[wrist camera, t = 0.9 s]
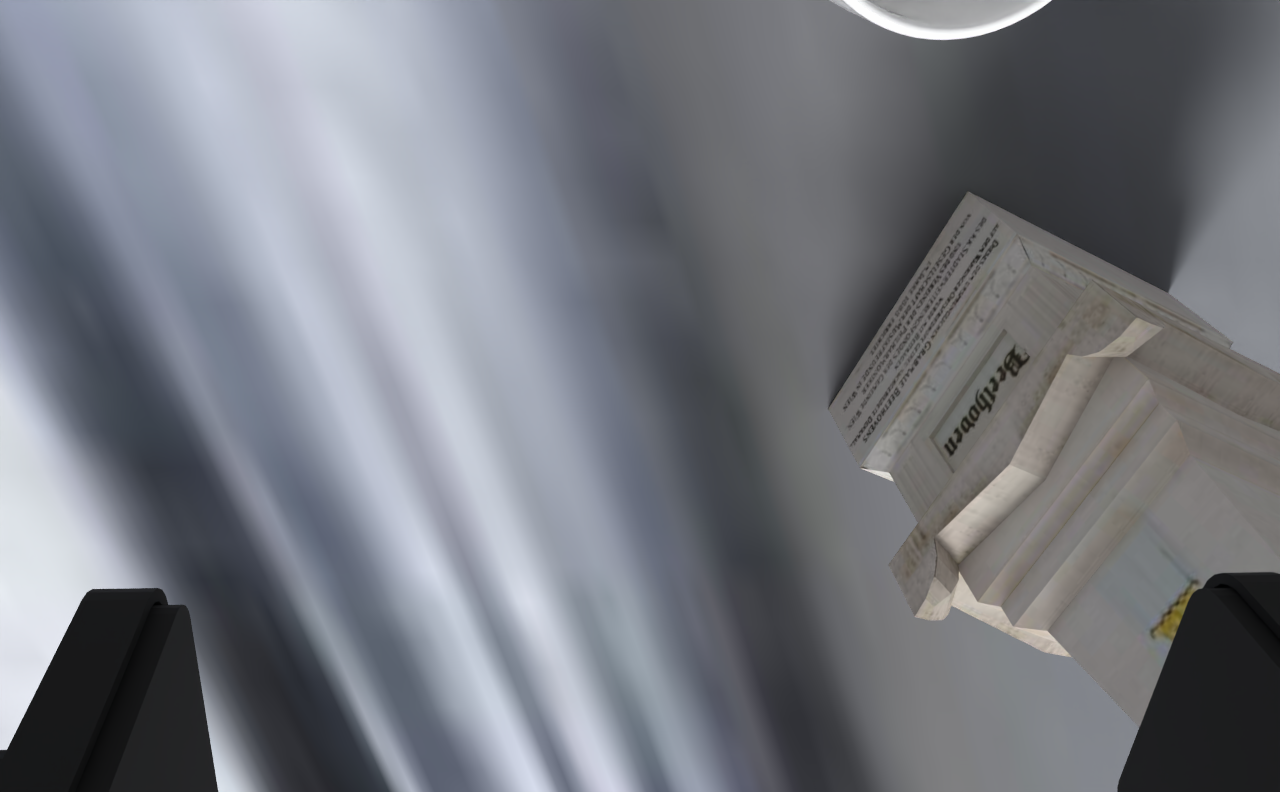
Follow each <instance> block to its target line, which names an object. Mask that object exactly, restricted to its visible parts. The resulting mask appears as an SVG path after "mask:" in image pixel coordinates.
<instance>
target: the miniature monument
mask: <svg viewBox="0 0 1280 792" xmlns="http://www.w3.org/2000/svg"><path fill="white" fill-rule="evenodd" d="M1232 343H1233V342H1232V341H1231V340H1230V339H1228V338H1227V337H1226V336H1224V335H1223V334H1222V333H1220V332H1219V331H1218V330H1216V329H1215V328H1214V327H1212V326H1211V325H1210V324H1208V323H1207V322H1206V321H1204V320H1203V319H1202V318H1200V317H1199V316H1198V315H1197V314H1195V313H1194V312H1193V311H1191V310H1190V309H1189V308H1187V307H1186V306H1185V305H1183V304H1182V303H1181V302H1179V301H1178V300H1177V299H1175V298H1174V297H1173V296H1171V295H1170V294H1169V293H1167V292H1165V291H1163V290H1161V289H1159V288H1157V287H1155V286H1153V285H1151V284H1149V283H1147V282H1145V281H1143V280H1141V279H1139V278H1138V277H1136V276H1134V275H1132V274H1130V273H1128V272H1126V271H1124V270H1122V269H1120V268H1118V267H1116V266H1114V265H1112V264H1110V263H1108V262H1106V261H1104V260H1102V259H1100V258H1098V257H1096V256H1094V255H1092V254H1090V253H1088V252H1086V251H1084V250H1083V249H1081V248H1079V247H1077V246H1075V245H1073V244H1071V243H1069V242H1067V241H1065V240H1063V239H1061V238H1059V237H1057V236H1055V235H1053V234H1051V233H1049V232H1047V231H1045V230H1043V229H1041V228H1039V227H1037V226H1035V225H1033V224H1031V223H1029V222H1027V221H1026V220H1024V219H1022V218H1020V217H1018V216H1016V215H1014V214H1012V213H1010V212H1008V211H1006V210H1004V209H1002V208H1000V207H998V206H996V205H994V204H992V203H990V202H988V201H986V200H984V199H982V198H980V197H978V196H976V195H974V194H972V193H971V192H969V191H967V193H966V194H965V196H964V198H963V199H962V201H961V202H960V204H959V205H958V207H957V209H956V210H955V212H954V213H953V215H952V216H951V218H950V219H949V221H948V223H947V224H946V226H945V227H944V229H943V230H942V232H941V234H940V235H939V237H938V238H937V240H936V241H935V243H934V244H933V246H932V248H931V249H930V251H929V252H928V254H927V255H926V257H925V259H924V260H923V262H922V263H921V265H920V266H919V268H918V269H917V271H916V273H915V274H914V276H913V277H912V279H911V280H910V282H909V283H908V285H907V287H906V288H905V290H904V291H903V293H902V294H901V296H900V298H899V299H898V301H897V302H896V304H895V305H894V307H893V308H892V310H891V312H890V313H889V315H888V316H887V318H886V319H885V321H884V323H883V324H882V326H881V327H880V329H879V330H878V332H877V333H876V335H875V337H874V338H873V340H872V341H871V343H870V344H869V346H868V348H867V349H866V351H865V352H864V354H863V355H862V357H861V358H860V360H859V362H858V363H857V365H856V366H855V368H854V369H853V371H852V373H851V374H850V376H849V377H848V379H847V380H846V382H845V383H844V385H843V387H842V388H841V390H840V391H839V393H838V394H837V396H836V398H835V399H834V401H833V402H832V404H831V405H830V407H829V408H828V409H829V411H830V413H831V415H832V417H833V419H834V421H835V422H836V424H837V426H838V428H839V430H840V432H841V434H842V436H843V437H844V439H845V441H846V443H847V445H848V447H849V449H850V450H851V452H852V454H853V456H854V458H855V460H856V462H857V464H858V465H859V467H860V468H861V469H864V470H866V471H869V472H871V473H874V474H876V475H879V476H881V477H884V478H886V479H889V480H891V481H894V482H895V484H896V485H897V487H898V489H899V491H900V492H901V494H902V496H903V498H904V499H905V501H906V503H907V505H908V506H909V508H910V510H911V512H912V513H913V515H914V517H915V518H916V520H917V522H918V524H917V525H916V527H915V528H914V530H913V531H912V532H911V534H910V535H909V537H908V538H907V539H906V541H905V542H904V544H903V545H902V546H901V548H900V549H899V551H898V552H897V553H896V555H895V556H894V558H893V559H892V560H891V562H890V563H889V567H890V569H891V571H892V573H893V575H894V577H895V579H896V581H897V583H898V585H899V587H900V589H901V591H902V592H903V594H904V596H905V598H906V600H907V602H908V604H909V606H910V608H911V610H912V612H913V614H914V616H915V617H918V618H922V619H926V620H943V619H944V618H945V617H946V616H947V615H948V614H949V611H950V607H951V606H953V607H955V608H957V609H959V610H961V611H963V612H965V613H967V614H969V615H971V616H973V617H975V618H977V619H979V620H981V621H983V622H985V623H987V624H989V625H991V626H993V627H995V628H997V629H999V630H1001V631H1003V632H1005V633H1007V634H1009V635H1011V636H1013V637H1015V638H1017V639H1019V640H1021V641H1023V642H1025V643H1027V644H1029V645H1031V646H1033V647H1035V648H1037V649H1039V650H1041V651H1043V652H1045V653H1051V654H1057V655H1062V656H1068V657H1073V658H1074V659H1075V660H1076V662H1077V663H1078V664H1079V665H1080V666H1081V667H1082V668H1083V669H1084V670H1085V671H1086V672H1087V673H1088V674H1089V675H1090V676H1091V677H1092V678H1093V679H1094V680H1095V681H1096V683H1097V684H1098V685H1099V686H1100V687H1101V688H1102V689H1103V690H1104V691H1105V692H1106V693H1107V694H1108V695H1109V696H1110V697H1111V698H1112V699H1113V700H1114V701H1115V702H1116V704H1117V705H1118V706H1119V707H1120V708H1121V709H1122V710H1123V711H1124V712H1125V713H1126V714H1127V715H1128V716H1129V717H1130V718H1131V719H1132V720H1133V721H1134V722H1135V723H1136V724H1137V726H1138V727H1139V728H1140V725H1141V722H1142V720H1143V717H1144V715H1145V712H1146V709H1147V707H1148V704H1149V702H1150V699H1151V696H1152V694H1153V691H1154V689H1155V686H1156V684H1157V681H1158V678H1159V676H1160V673H1161V671H1162V668H1163V665H1164V663H1165V660H1166V658H1167V655H1168V652H1169V650H1170V647H1171V645H1172V642H1173V639H1174V637H1175V634H1176V632H1177V629H1178V626H1179V624H1180V621H1181V619H1182V616H1183V614H1184V611H1185V608H1186V606H1187V603H1188V601H1189V599H1190V597H1191V595H1192V593H1194V592H1195V591H1196V590H1197V589H1202V588H1203V587H1204V585H1205V583H1206V582H1207V580H1208V579H1209V578H1211V577H1212V576H1213V575H1214V574H1219V573H1242V572H1275V573H1278V574H1280V374H1279V373H1277V372H1275V371H1273V370H1271V369H1269V368H1267V367H1265V366H1263V365H1261V364H1259V363H1257V362H1255V361H1253V360H1251V359H1249V358H1247V357H1245V356H1243V355H1241V354H1239V353H1237V352H1235V351H1233V350H1231V349H1230V347H1231V345H1232Z"/></svg>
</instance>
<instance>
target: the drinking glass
mask: <svg viewBox="0 0 1280 792" xmlns="http://www.w3.org/2000/svg"><path fill="white" fill-rule="evenodd" d="M829 1H831V2H833V3H834V4H836V5H837V6H839V7H841V8H843V9H845V10H847V11H849V12H851V13H853V14H855V15H857V16H859V17H861V18H863V19H865V20H867V21H870V22H872V23H874V24H877V25H879V26H881V27H883V28H885V29H888V30H890V31H893V32H896V33H898V34H902V35H906V36H910V37H914V38H922V39H929V40H953V39H964V38H969V37H975V36H980V35H983V34H987V33H990V32H994V31H997V30H999V29H1002V28H1004V27H1007V26H1010V25H1012V24H1014V23H1016V22H1018V21H1020V20H1022V19H1024V18H1026V17H1028V16H1029V15H1031V14H1033V13H1034V12H1036V11H1037V10H1039V9H1041V8H1042V7H1044V6H1045V5H1046V4H1048V3H1049V2H1050V1H1052V0H829Z"/></svg>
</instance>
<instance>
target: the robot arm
mask: <svg viewBox="0 0 1280 792" xmlns="http://www.w3.org/2000/svg"><path fill="white" fill-rule="evenodd" d="M0 792H218V788H217V782H216V775H215V769H214V763H213V757H212V750H211V744H210V738H209V732H208V725H207V719H206V713H205V707H204V700H203V694H202V688H201V682H200V675H199V669H198V663H197V657H196V650H195V644H194V638H193V632H192V625H191V619H190V615H189V611H188V609H187V607H186V606H185V605H168V602H167V599H166V596H165V594H164V592H163V590H161V589H159V588H142V589H92V590H90V591H89V592H87V593H86V595H85V596H84V598H83V599H82V601H81V603H80V605H79V607H78V609H77V611H76V613H75V615H74V617H73V619H72V621H71V623H70V625H69V627H68V629H67V631H66V633H65V635H64V637H63V639H62V641H61V643H60V645H59V647H58V649H57V651H56V653H55V655H54V657H53V659H52V661H51V663H50V665H49V667H48V669H47V671H46V673H45V675H44V677H43V679H42V681H41V683H40V685H39V687H38V689H37V691H36V693H35V695H34V697H33V699H32V701H31V703H30V705H29V707H28V709H27V711H26V713H25V715H24V717H23V719H22V721H21V723H20V725H19V727H18V729H17V731H16V733H15V735H14V737H13V739H12V741H11V743H10V745H9V747H8V749H7V750H0ZM1118 792H1280V574H1278V573H1275V572H1242V573H1219V574H1214V575H1213V576H1212V577H1211V578H1209V579H1208V580H1207V582H1206V583H1205V585H1204V587H1203V588H1202V589H1197V590H1196V591H1195V592H1194V593H1192V595H1191V597H1190V599H1189V601H1188V603H1187V606H1186V608H1185V611H1184V614H1183V616H1182V619H1181V621H1180V624H1179V626H1178V629H1177V632H1176V634H1175V637H1174V639H1173V642H1172V645H1171V647H1170V650H1169V652H1168V655H1167V658H1166V660H1165V663H1164V665H1163V668H1162V671H1161V673H1160V676H1159V678H1158V681H1157V684H1156V686H1155V689H1154V691H1153V694H1152V696H1151V699H1150V702H1149V704H1148V707H1147V709H1146V712H1145V715H1144V717H1143V720H1142V722H1141V725H1140V728H1139V730H1138V733H1137V735H1136V738H1135V741H1134V743H1133V746H1132V748H1131V751H1130V754H1129V756H1128V759H1127V761H1126V764H1125V767H1124V769H1123V772H1122V774H1121V777H1120V779H1119V784H1118Z"/></svg>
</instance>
